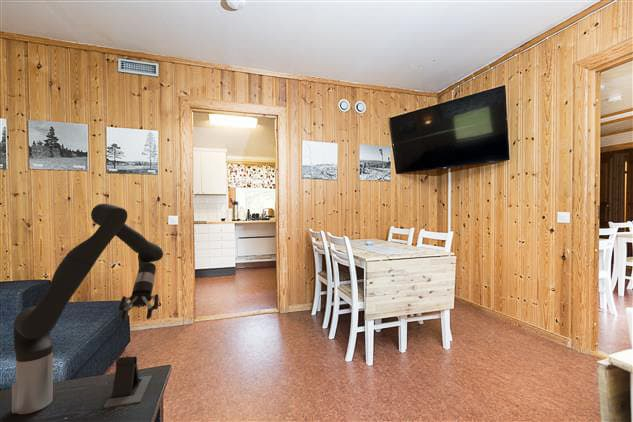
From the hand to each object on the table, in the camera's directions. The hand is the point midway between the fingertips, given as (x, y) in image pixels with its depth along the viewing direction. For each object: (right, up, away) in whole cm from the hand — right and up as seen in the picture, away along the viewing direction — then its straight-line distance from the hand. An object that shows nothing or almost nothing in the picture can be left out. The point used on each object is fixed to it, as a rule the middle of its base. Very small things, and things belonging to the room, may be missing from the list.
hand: (136, 319), depth 123 cm
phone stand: (+3, -22, -11) cm, 25 cm away
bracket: (+5, -22, -12) cm, 26 cm away
